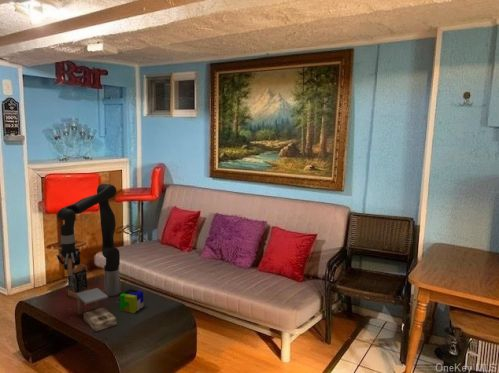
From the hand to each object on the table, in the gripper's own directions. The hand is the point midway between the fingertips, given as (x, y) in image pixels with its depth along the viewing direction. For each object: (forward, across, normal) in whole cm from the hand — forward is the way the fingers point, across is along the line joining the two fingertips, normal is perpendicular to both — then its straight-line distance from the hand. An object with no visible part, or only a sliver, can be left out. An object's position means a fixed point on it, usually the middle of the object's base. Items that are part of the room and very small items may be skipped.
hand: (69, 269), depth 236 cm
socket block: (+27, -8, +24) cm, 37 cm away
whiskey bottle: (+27, -11, -22) cm, 37 cm away
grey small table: (+27, -8, +13) cm, 31 cm away
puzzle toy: (+27, -30, +20) cm, 45 cm away
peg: (+3, 0, 0) cm, 3 cm away
